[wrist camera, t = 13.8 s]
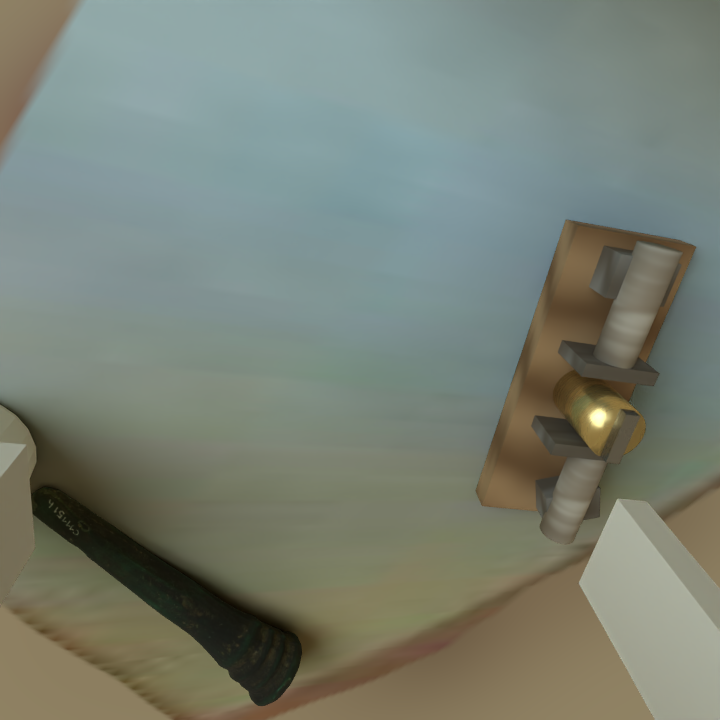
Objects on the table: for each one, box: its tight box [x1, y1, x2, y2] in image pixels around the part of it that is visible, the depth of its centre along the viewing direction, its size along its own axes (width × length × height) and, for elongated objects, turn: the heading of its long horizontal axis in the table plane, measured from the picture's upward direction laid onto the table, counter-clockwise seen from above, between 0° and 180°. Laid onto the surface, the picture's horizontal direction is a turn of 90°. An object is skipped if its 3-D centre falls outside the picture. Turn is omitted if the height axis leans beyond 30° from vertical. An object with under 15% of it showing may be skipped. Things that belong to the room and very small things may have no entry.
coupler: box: [553, 370, 646, 464], centre depth 40 cm, size 4×4×7 cm
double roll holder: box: [476, 220, 696, 544], centre depth 42 cm, size 24×9×6 cm, turn 169°
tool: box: [31, 487, 302, 706], centre depth 47 cm, size 28×6×7 cm, turn 39°
